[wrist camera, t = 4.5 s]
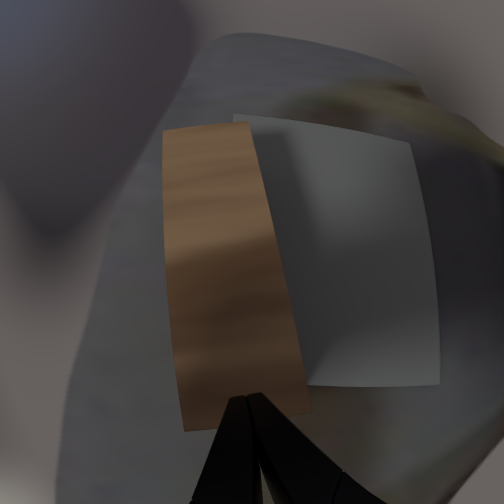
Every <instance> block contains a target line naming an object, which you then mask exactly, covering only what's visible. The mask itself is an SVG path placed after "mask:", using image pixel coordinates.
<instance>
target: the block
mask: <svg viewBox="0 0 504 504" xmlns="http://www.w3.org/2000/svg"><path fill="white" fill-rule="evenodd" d="M162 171H163V223H164V247H165V265H166V280H167V294H168V306H169V317H170V327H171V337H172V346H173V355H174V363H175V371H176V379H177V386H178V393H179V400H180V407H181V413H182V420H183V426H184V432H186V431H198V430H208V429H217V428H218V427H219V425H220V422H221V419H222V416H223V414H224V411H225V408H226V405H227V403H228V400H229V398H230V397H233V396H239V395H245V396H247V394H251V393H257V392H262V393H263V394H264V395H265V396H266V397H267V398H268V399H269V400H270V401H271V402H272V403H273V404H274V405H275V406H276V407H277V408H278V409H279V410H280V411H281V412H282V413H283V414H284V415H285V416H286V417H291V416H296V415H300V414H305V413H309V412H312V407H311V402H310V397H309V391H308V386H307V381H306V376H305V371H304V366H303V361H302V356H301V351H300V346H299V342H298V337H297V332H296V327H295V322H294V318H293V313H292V308H291V303H290V299H289V294H288V290H287V285H286V280H285V276H284V271H283V267H282V262H281V258H280V253H279V249H278V244H277V240H276V235H275V231H274V227H273V222H272V218H271V214H270V209H269V205H268V201H267V197H266V192H265V188H264V184H263V180H262V176H261V171H260V167H259V163H258V159H257V155H256V151H255V147H254V143H253V139H252V135H251V131H250V127H249V123H248V121H240V122H229V123H219V124H210V125H202V126H194V127H187V128H180V129H173V130H166V131H163V162H162Z"/></svg>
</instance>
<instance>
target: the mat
mask: <svg viewBox="0 0 504 504" xmlns="http://www.w3.org/2000/svg"><path fill="white" fill-rule="evenodd" d="M240 121H248V123H249V127H250V131H251V135H252V139H253V143H254V147H255V151H256V155H257V159H258V163H259V167H260V171H261V176H262V180H263V184H264V188H265V192H266V197H267V201H268V205H269V209H270V214H271V218H272V222H273V227H274V231H275V235H276V240H277V244H278V249H279V253H280V258H281V262H282V267H283V271H284V276H285V280H286V285H287V290H288V294H289V299H290V303H291V308H292V313H293V318H294V322H295V327H296V332H297V337H298V342H299V346H300V351H301V356H302V361H303V366H304V371H305V376H306V381H307V385H318V386H342V387H406V386H429V385H440V331H439V312H438V299H437V287H436V278H435V269H434V261H433V253H432V246H431V240H430V233H429V227H428V222H427V216H426V211H425V206H424V201H423V196H422V191H421V187H420V182H419V178H418V173H417V169H416V165H415V161H414V157H413V154H412V150H411V146H410V143H407V142H403V141H399V140H395V139H391V138H386V137H382V136H378V135H373V134H368V133H364V132H359V131H354V130H349V129H343V128H338V127H332V126H327V125H321V124H314V123H308V122H301V121H294V120H287V119H279V118H271V117H262V116H252V115H242V114H234V116H233V120H232V122H240Z"/></svg>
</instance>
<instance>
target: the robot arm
mask: <svg viewBox="0 0 504 504" xmlns="http://www.w3.org/2000/svg"><path fill="white" fill-rule="evenodd" d="M259 463H260V465H259ZM260 467H261V470H262V473H263V476H264V478H265V481H266V484H267V486H268V489H269V491H270V494H271V496H272V499H273V501H274V503H275V504H387V503H385V502H384V501H382V500H381V499H379V498H378V497H376V496H375V495H373V494H372V493H370V492H369V491H367V490H366V489H365V488H364V487H362V486H361V485H360V484H359V483H357V482H356V481H355V480H354V479H352V478H351V477H350V476H349V475H348V474H347V473H346V472H342V469H341V468H340V467H339V466H338V465H336V464H335V463H334V462H333V461H332V460H331V459H330V458H329V457H328V456H327V455H326V454H324V453H323V452H322V451H321V450H320V449H319V448H318V447H317V446H316V445H315V444H314V443H313V442H312V441H311V440H309V439H308V438H307V437H306V436H305V435H304V434H303V433H302V432H301V431H300V430H299V429H298V428H297V427H296V426H295V425H294V424H293V423H292V422H291V421H290V420H289V419H288V418H287V417H286V416H285V415H284V414H283V413H282V412H281V411H280V410H279V409H278V408H277V407H276V406H275V405H274V404H273V403H272V402H271V401H270V400H269V399H268V398H267V397H266V396H265V395H264V394H263V393H262V392H257V393H251V394H247V396H245V395H239V396H233V397H230V398H229V400H228V403H227V405H226V408H225V411H224V414H223V416H222V419H221V422H220V425H219V427H218V430H217V433H216V435H215V438H214V441H213V443H212V446H211V449H210V451H209V454H208V457H207V459H206V462H205V465H204V467H203V470H202V473H201V475H200V478H199V480H198V483H197V486H196V488H195V491H194V493H193V496H192V500H193V501H190V503H189V504H263V496H262V483H261V471H260Z"/></svg>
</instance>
